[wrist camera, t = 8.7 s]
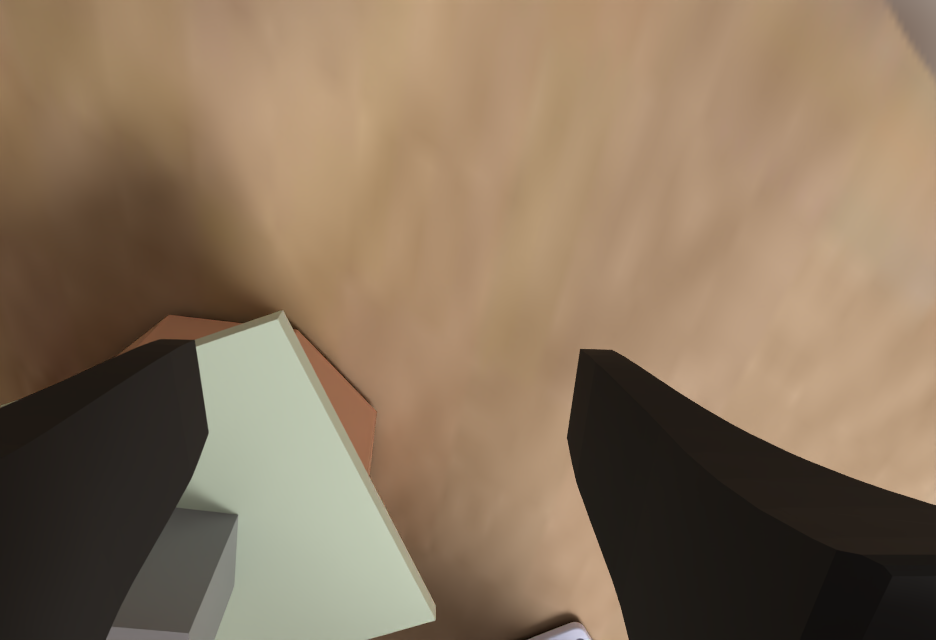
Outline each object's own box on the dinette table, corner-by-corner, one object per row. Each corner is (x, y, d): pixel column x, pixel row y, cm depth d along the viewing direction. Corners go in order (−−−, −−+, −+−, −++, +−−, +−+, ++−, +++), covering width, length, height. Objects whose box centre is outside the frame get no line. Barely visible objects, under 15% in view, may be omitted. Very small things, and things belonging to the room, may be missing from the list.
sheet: (435, 605, 21) (436, 744, 17) (128, 693, 22) (56, 846, 18) (282, 309, 16) (229, 403, 12) (-105, 441, 17) (-281, 570, 13)
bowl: (426, 456, 24) (425, 551, 20) (237, 577, 26) (196, 687, 22) (237, 259, 20) (181, 320, 16) (33, 419, 23) (-67, 513, 18)
